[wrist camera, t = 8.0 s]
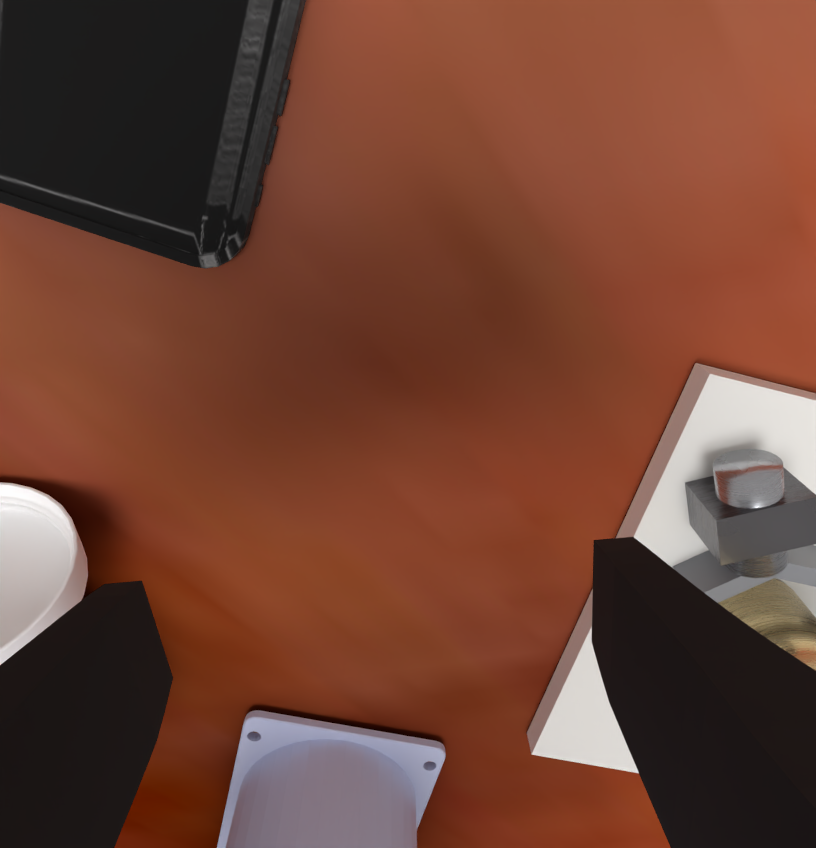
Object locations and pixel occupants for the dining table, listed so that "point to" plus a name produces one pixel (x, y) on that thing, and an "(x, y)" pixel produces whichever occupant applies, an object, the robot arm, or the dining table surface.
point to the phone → (144, 116)
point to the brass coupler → (778, 618)
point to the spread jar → (36, 565)
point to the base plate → (681, 541)
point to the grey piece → (751, 512)
